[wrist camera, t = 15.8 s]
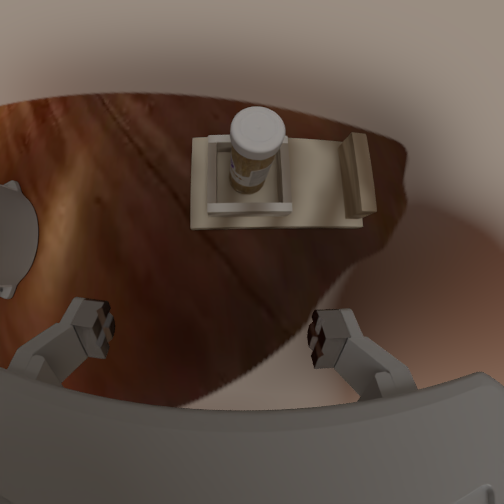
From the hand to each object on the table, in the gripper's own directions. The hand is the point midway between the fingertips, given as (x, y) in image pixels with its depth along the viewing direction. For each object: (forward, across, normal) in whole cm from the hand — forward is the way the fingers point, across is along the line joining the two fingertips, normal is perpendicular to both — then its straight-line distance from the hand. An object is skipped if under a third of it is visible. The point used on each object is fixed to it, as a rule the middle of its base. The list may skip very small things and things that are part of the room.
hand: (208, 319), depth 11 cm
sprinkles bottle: (+27, -3, +3) cm, 27 cm away
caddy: (+28, -7, +3) cm, 29 cm away
